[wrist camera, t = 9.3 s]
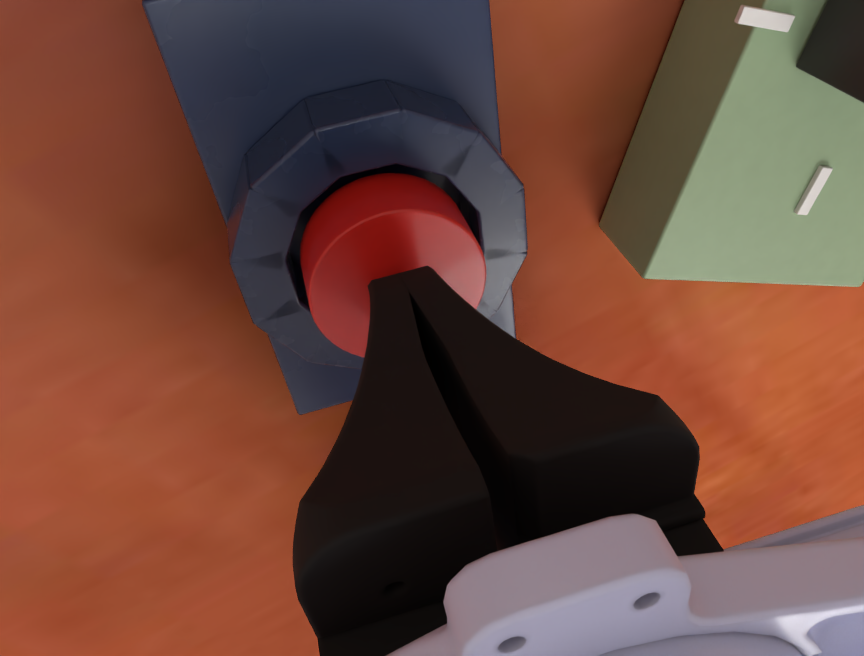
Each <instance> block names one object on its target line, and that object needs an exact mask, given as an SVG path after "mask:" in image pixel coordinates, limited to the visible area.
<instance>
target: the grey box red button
mask: <svg viewBox="0 0 864 656" xmlns="http://www.w3.org/2000/svg"><path fill="white" fill-rule="evenodd" d="M142 6H143V8H144V11H145V14H146V16H147V19H148V21H149V24H150V27H151V29H152V32H153V35H154V37H155V40H156V42H157V45H158V48H159V50H160V53H161V56H162V58H163V61H164V63H165V66H166V69H167V71H168V74H169V77H170V79H171V82H172V84H173V87H174V90H175V92H176V95H177V98H178V100H179V103H180V106H181V108H182V111H183V113H184V116H185V119H186V121H187V124H188V127H189V129H190V132H191V134H192V137H193V140H194V142H195V145H196V148H197V150H198V153H199V155H200V158H201V161H202V163H203V166H204V169H205V171H206V174H207V176H208V179H209V182H210V184H211V187H212V190H213V192H214V195H215V197H216V200H217V203H218V205H219V208H220V211H221V213H222V216H223V218H224V221H225V224H226V226H227V229H228V243H229V259H230V265H231V268H232V270H233V273H234V275H235V278H236V280H237V283H238V286H239V288H240V291H241V293H242V296H243V298H244V301H245V303H246V306H247V308H248V311H249V314H250V316H251V319H252V321H253V323H254V324H256V326H257V327H259V328H260V329H262V330H263V331H264V332H266V333H267V334H268V337H269V339H270V342H271V344H272V347H273V350H274V352H275V355H276V358H277V360H278V363H279V365H280V368H281V371H282V373H283V376H284V379H285V381H286V384H287V386H288V389H289V392H290V394H291V397H292V400H293V402H294V405H295V407H296V410H297V413H298V414H299V415H302V414H305V413H309V412H313V411H316V410H320V409H323V408H327V407H330V406H334V405H338V404H341V403H345V402H348V401H352V400H353V399H354V395H355V392H356V389H357V386H358V382H359V379H360V375H361V371H362V366H363V361H364V357H360V356H357V355H354V354H351V353H349V352H347V351H345V350H342V349H341V348H339V347H338V346H336V345H335V344H333V343H332V342H331V341H330V340H329V339H327V338H326V337H325V336H324V334H323V333H322V332H321V331H320V330H319V328H318V327H317V325H316V323H315V322H314V320H313V317H312V315H311V312H310V308H309V303H308V298H307V293H306V288H305V283H304V278H303V273H302V268H301V263H300V245H301V240H302V236H303V232H304V230H305V227H306V225H307V223H308V221H309V219H310V218H311V216H312V214H313V213H314V212H315V210H316V209H317V208H318V206H319V205H320V204H321V203H322V202H323V201H324V200H325V199H326V198H327V197H328V196H330V195H331V194H332V193H333V192H335V191H336V190H337V189H339V188H341V187H342V186H344V185H346V184H348V183H350V182H352V181H354V180H357V179H359V178H363V177H366V176H369V175H375V174H380V173H403V174H408V175H414V176H417V177H420V178H423V179H426V180H428V181H430V182H432V183H434V184H435V185H437V186H438V187H440V188H441V189H443V190H444V191H445V192H446V193H447V194H448V195H449V196H450V197H451V198H452V199H453V201H454V202H455V203H456V205H457V206H458V208H459V210H460V212H461V213H462V215H463V217H464V219H465V220H466V222H467V224H468V226H469V227H470V229H471V231H472V233H473V234H474V236H475V238H476V240H477V241H478V243H479V245H480V247H481V249H482V252H483V255H484V258H485V263H486V282H485V288H484V292H483V296H482V298H481V301H480V303H479V305H478V307H477V309H476V310H477V311H479V312H480V313H481V314H482V315H484V316H485V317H486V318H487V319H489V320H490V321H491V322H493V323H494V324H495V325H497V326H498V327H500V328H501V329H502V330H504V331H505V332H507V333H508V334H510V335H511V336H513V337H514V338H516V330H515V318H514V305H513V293H512V283H513V281H514V279H515V277H516V275H517V273H518V271H519V269H520V267H521V265H522V263H523V261H524V259H525V257H526V256H527V249H528V245H527V228H526V211H525V194H524V188H523V187H524V186H523V183H522V182H521V181H520V179H519V178H518V177H517V176H516V174H515V173H514V172H513V170H512V169H511V168H510V166H509V165H508V164H507V162H506V161H505V160H504V158H503V157H502V155H501V143H500V130H499V118H498V105H497V93H496V80H495V68H494V55H493V43H492V30H491V18H490V5H489V0H142Z"/></svg>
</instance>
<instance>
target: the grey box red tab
mask: <svg viewBox="0 0 864 656" xmlns="http://www.w3.org/2000/svg"><path fill="white" fill-rule="evenodd" d="M796 67H797V68H798V69H800V70H802V71H804V72H806V73H808V74H809V75H811V76H813V77H815V78H817V79H819V80H821V81H823V82H825V83H827V84H828V85H830V86H832V87H834V88H836V89H838V90H840V91H842V92H844V93H845V94H847V95H849V96H851V97H853V98H855V99H857V100H859V101H861V102H862V103H864V0H828V1H827V3H826V5H825V7H824V9H823V11H822V13H821V15H820V17H819V19H818V21H817V23H816V26H815V28H814V30H813V32H812V34H811V36H810V38H809V40H808V42H807V44H806V46H805V48H804V50H803V52H802V54H801V56H800V58H799V60H798V62H797V64H796Z"/></svg>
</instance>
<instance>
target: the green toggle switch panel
mask: <svg viewBox="0 0 864 656" xmlns="http://www.w3.org/2000/svg"><path fill="white" fill-rule="evenodd" d="M827 1H828V0H684V3H683V5H682V8H681V11H680V13H679V16H678V19H677V21H676V24H675V26H674V29H673V32H672V34H671V37H670V40H669V42H668V45H667V47H666V50H665V53H664V55H663V58H662V61H661V63H660V66H659V68H658V71H657V74H656V76H655V79H654V81H653V84H652V87H651V89H650V92H649V95H648V97H647V100H646V102H645V105H644V108H643V110H642V113H641V116H640V118H639V121H638V123H637V126H636V129H635V131H634V134H633V137H632V139H631V142H630V144H629V147H628V150H627V152H626V155H625V157H624V160H623V163H622V165H621V168H620V171H619V173H618V176H617V178H616V181H615V184H614V186H613V189H612V192H611V194H610V197H609V199H608V202H607V205H606V207H605V210H604V213H603V215H602V218H601V220H600V223H599V227H600V228H601V229H602V230H603V232H604V233H605V234H606V235H607V236H608V238H609V239H610V240H611V241H612V242H613V243H614V245H615V246H616V247H617V248H618V249H619V251H620V252H621V253H622V254H623V255H624V257H625V258H626V259H627V260H628V261H629V262H630V264H631V265H632V266H633V267H634V268H635V270H636V271H637V272H638V273H639V274H640V275H641V277H642V278H644V279H665V280H691V281H717V282H744V283H770V284H796V285H822V286H848V287H859V286H861V285H862V283H863V282H864V103H862V102H861V101H859V100H857V99H855V98H853V97H851V96H849V95H847V94H845V93H844V92H842V91H840V90H838V89H836V88H834V87H832V86H830V85H828V84H827V83H825V82H823V81H821V80H819V79H817V78H815V77H813V76H811V75H809V74H808V73H806V72H804V71H802V70H800V69H798V68H797V67H796V64H797V62H798V60H799V58H800V56H801V54H802V52H803V50H804V48H805V46H806V44H807V42H808V40H809V38H810V36H811V34H812V32H813V30H814V28H815V26H816V23H817V21H818V19H819V17H820V15H821V13H822V11H823V9H824V7H825V5H826V3H827Z"/></svg>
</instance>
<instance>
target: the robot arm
mask: <svg viewBox="0 0 864 656" xmlns="http://www.w3.org/2000/svg"><path fill="white" fill-rule="evenodd" d="M368 290H369V296H370V322H369V331H368V340H367V347H366V352H365V357H364V361H363V366H362V371H361V375H360V379H359V382H358V386H357V389H356V392H355V395H354V399H353V402H352V404H351V407H350V410H349V412H348V415H347V417H346V420H345V422H344V425H343V427H342V430H341V432H340V434H339V436H338V438H337V440H336V442H335V444H334V446H333V448H332V450H331V452H330V454H329V456H328V457H327V459H326V461H325V463H324V465H323V467H322V468H321V470H320V472H319V473H318V475H317V477H316V478H315V480H314V481H313V483H312V484H311V486H310V487H309V489H308V490H307V492H306V493H305V495H304V496H303V498H302V499H301V501H300V503H299V508H298V513H297V519H296V525H295V532H294V542H293V571H294V579H295V587H296V592H297V596H298V600H299V602H300V604H301V606H302V608H303V610H304V612H305V614H306V616H307V618H308V620H309V622H310V624H311V626H312V628H313V630H314V632H315V634H316V636H317V638H318V645H319V652H320V656H864V505H861V506H858V507H855V508H852V509H849V510H846V511H843V512H839V513H836V514H833V515H830V516H827V517H824V518H821V519H818V520H814V521H811V522H808V523H805V524H802V525H799V526H796V527H793V528H789V529H786V530H783V531H780V532H777V533H774V534H771V535H767V536H764V537H761V538H758V539H755V540H752V541H749V542H746V543H742V544H739V545H736V546H733V547H730V548H727V549H724V550H723V549H722V547H721V546H720V544H719V543H718V541H717V540H716V538H715V537H714V535H713V534H712V532H711V530H710V529H709V527H708V526H707V524H706V523H705V521H704V520H703V518H705V511H704V508H703V506H702V505H701V503H700V502H699V500H698V499H697V497H696V496H695V494H694V490H695V484H696V478H697V472H698V466H699V460H700V456H699V445H698V443H697V442H696V440H695V438H694V436H693V435H692V433H691V432H690V430H689V429H688V428H687V426H686V425H685V424H684V422H683V421H682V420H681V419H680V418H679V417H678V416H677V415H676V413H675V412H674V411H673V410H672V409H671V408H670V407H669V406H668V405H667V404H666V403H665V402H664V401H663V400H662V399H661V398H660V397H659V396H658V395H655V394H651V393H647V392H643V391H639V390H635V389H632V388H628V387H624V386H620V385H617V384H613V383H610V382H607V381H604V380H602V379H599V378H596V377H593V376H590V375H587V374H585V373H582V372H580V371H577V370H575V369H573V368H571V367H568V366H566V365H564V364H561V363H559V362H557V361H555V360H552V359H551V358H549V357H547V356H545V355H543V354H541V353H539V352H537V351H536V350H534V349H532V348H530V347H529V346H527V345H525V344H524V343H522V342H520V341H519V340H517V339H516V338H514V337H513V336H511V335H510V334H508V333H507V332H505V331H504V330H502V329H501V328H500V327H498V326H497V325H495V324H494V323H493V322H491V321H490V320H489V319H487V318H486V317H485V316H484V315H482V314H481V313H480V312H479V311H477V310H476V309H475V308H474V307H473V306H471V305H470V304H469V303H468V302H467V301H465V300H464V299H463V298H462V297H461V296H460V295H459V294H458V293H457V292H455V291H454V290H453V289H452V288H451V287H450V286H449V285H448V284H447V283H446V282H445V281H444V280H443V279H442V278H441V277H440V276H439V275H438V274H437V272H436V271H435V270H434V269H433V268H431V267H429V266H428V265H427V266H423V267H420V268H416V269H412V270H408V271H404V272H401V273H397V274H393V275H389V276H385V277H382V278H378V279H374V280H371V282H370V283H369V284H368Z"/></svg>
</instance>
